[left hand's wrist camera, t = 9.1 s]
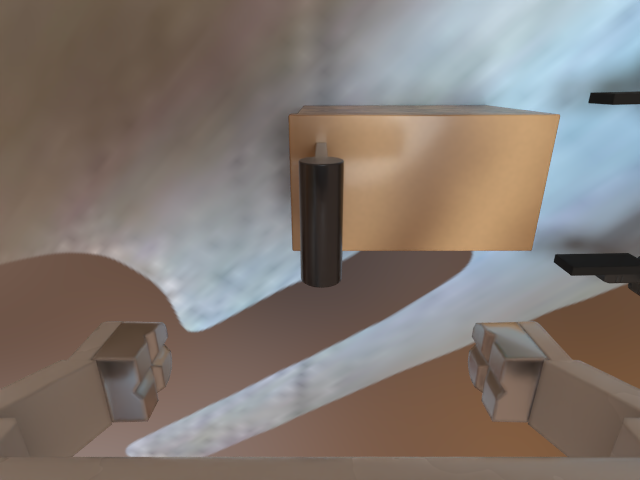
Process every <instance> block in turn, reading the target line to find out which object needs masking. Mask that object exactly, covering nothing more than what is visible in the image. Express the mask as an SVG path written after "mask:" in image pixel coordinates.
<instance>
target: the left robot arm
mask: <svg viewBox="0 0 640 480" xmlns="http://www.w3.org/2000/svg"><path fill="white" fill-rule="evenodd" d="M167 338H168V334H167V329H166V325H165V324H164V323H162V322H104V323H101V324H100V325H99V327H98V328H97V329H96V330H95V331H94V332H93V333H92V334H91V335H90V336H89V337H88V338H87V340H86V341H85V342H84V343H83V344H82V345H81V346H80V347H79V348H78V349H77V350H76V351H75V352H74V354H73V355H72V356H71V357H70V358H69V359H68V360H60V361H58V362H56V363H54V364H52V365H50V366H48V367H46V368H44V369H42V370H39V371H37V372H35V373H33V374H31V375H29V376H27V377H25V378H23V379H21V380H19V381H17V382H14V383H12V384H10V385H8V386H6V387H4V388H2V389H0V480H640V389H638V388H636V387H634V386H632V385H630V384H628V383H625V382H623V381H621V380H619V379H617V378H615V377H613V376H611V375H609V374H607V373H605V372H603V371H600V370H598V369H596V368H594V367H592V366H590V365H588V364H586V363H584V362H582V361H580V360H572V359H571V358H570V357H569V356H568V355H567V354H566V352H565V351H564V350H563V349H562V348H561V347H560V346H559V345H558V344H557V343H556V342H555V340H554V339H553V338H552V337H551V336H550V335H549V334H548V333H547V332H546V331H545V330H544V329H543V327H542V326H541V325H540V324H539V323H537V322H534V321H529V322H502V323H476V324H475V326H474V328H473V333H472V338H473V339H474V341H475V343H476V345H475V346H474V347H473V348H472V349H471V350H470V351H469V358H468V367H469V374H470V377H471V380H472V383H473V384H474V387H475V388H477V389H478V390H479V391H481V392H482V393H483V395H482V402H483V404H484V406H485V408H486V410H487V412H488V414H489V416H490V418H491V420H492V421H498V422H528V424H529V425H530V426H531V427H532V428H533V429H535V430H536V431H537V432H538V433H539V434H541V435H542V436H543V437H544V438H546V439H547V440H548V441H549V442H550V443H552V444H553V445H554V446H555V447H557V448H558V449H559V450H560V451H561V452H563V453H564V454H565V455H566V456H568V457H73V456H74V455H75V454H76V453H77V452H79V451H80V450H81V449H82V448H84V447H85V446H86V445H87V444H88V443H90V442H91V441H92V440H93V439H94V438H96V437H97V436H98V435H99V434H101V433H102V432H103V431H104V430H106V429H107V428H108V427H109V426H110V425H112V422H140V421H148V420H149V418H150V416H151V414H152V412H153V410H154V408H155V406H156V404H157V402H158V395H157V393H158V392H159V391H160V390H162V389H163V388H165V387H166V385H167V382H168V380H169V377H170V373H171V368H172V357H171V351H170V350H169V349H168V348H167V347H166V346H165V345H164V343H165V341H166V339H167Z"/></svg>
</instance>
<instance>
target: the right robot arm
mask: <svg viewBox="0 0 640 480" xmlns="http://www.w3.org/2000/svg"><path fill="white" fill-rule="evenodd" d="M589 103H595V104H610V105H621V104H640V92H601V93H590V98H589ZM554 263H556V264H557V265H558V266H560V267H561V268H562V269H563V270H565V271H566V272H567V273H569V274H570V275H571V276H575V275H595V276H597V277H598V278H600V279H601V280H603V281H604V282H607V283H629V284H628V288H629V289H630V290H632V291H633V292H635V293H636V294H638V295H639V296H640V256H639V257H638V258H636V257H634V256H633V255H631V254H629V253H610V254H555V259H554Z"/></svg>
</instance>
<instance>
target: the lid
mask: <svg viewBox="0 0 640 480" xmlns="http://www.w3.org/2000/svg"><path fill="white" fill-rule="evenodd" d="M559 119H560V115H559V114H551V113H441V114H290V115H289V148H290V181H291V214H292V248H293V251H301V279H302V281H303V282H304V283H305V284H307V285H309V286H313V287H330V286H334V285H336V284H338V283H339V282H340V281H341V279H342V251H531V250H532V246H533V241H534V237H535V232H536V227H537V222H538V218H539V213H540V208H541V204H542V199H543V194H544V190H545V185H546V180H547V175H548V171H549V166H550V161H551V157H552V152H553V147H554V142H555V138H556V133H557V128H558V124H559Z"/></svg>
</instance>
